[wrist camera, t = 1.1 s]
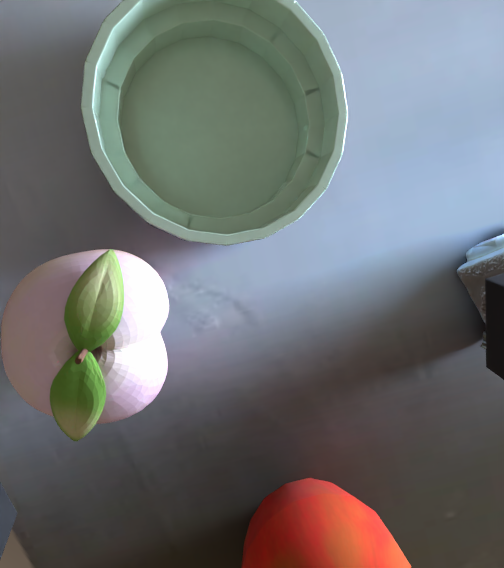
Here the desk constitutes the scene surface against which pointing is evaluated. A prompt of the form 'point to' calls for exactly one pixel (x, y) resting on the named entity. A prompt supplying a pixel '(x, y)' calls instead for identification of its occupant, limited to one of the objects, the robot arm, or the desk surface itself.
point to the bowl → (214, 114)
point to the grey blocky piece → (482, 271)
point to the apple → (318, 531)
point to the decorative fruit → (87, 338)
